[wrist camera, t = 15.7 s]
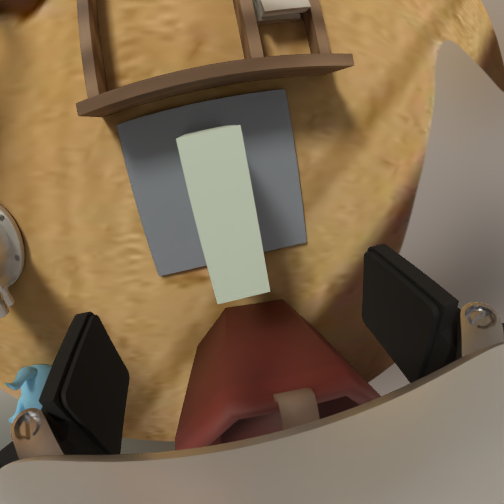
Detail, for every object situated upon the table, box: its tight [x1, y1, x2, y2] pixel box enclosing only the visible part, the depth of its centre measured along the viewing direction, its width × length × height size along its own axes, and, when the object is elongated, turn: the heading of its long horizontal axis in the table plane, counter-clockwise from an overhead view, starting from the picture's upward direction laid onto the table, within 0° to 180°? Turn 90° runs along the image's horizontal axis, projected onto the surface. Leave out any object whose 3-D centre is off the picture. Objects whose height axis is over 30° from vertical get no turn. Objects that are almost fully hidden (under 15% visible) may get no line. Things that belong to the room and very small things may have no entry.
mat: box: [117, 89, 307, 276], centre depth 32 cm, size 18×18×1 cm
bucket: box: [175, 299, 381, 451], centre depth 31 cm, size 24×22×25 cm
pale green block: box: [176, 125, 270, 304], centre depth 25 cm, size 12×4×13 cm, turn 10°
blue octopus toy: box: [5, 364, 52, 423], centre depth 35 cm, size 13×13×10 cm
